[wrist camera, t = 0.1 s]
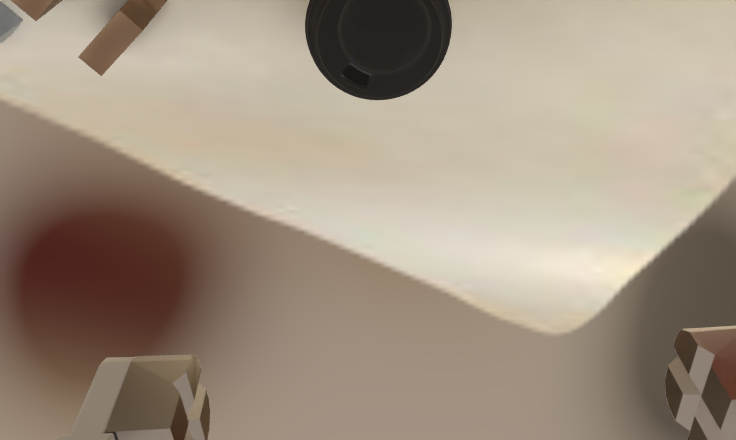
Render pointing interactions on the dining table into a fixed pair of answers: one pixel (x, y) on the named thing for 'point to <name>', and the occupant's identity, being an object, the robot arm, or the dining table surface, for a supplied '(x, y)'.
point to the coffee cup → (378, 43)
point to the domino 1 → (7, 22)
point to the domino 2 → (36, 7)
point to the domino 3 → (119, 33)
